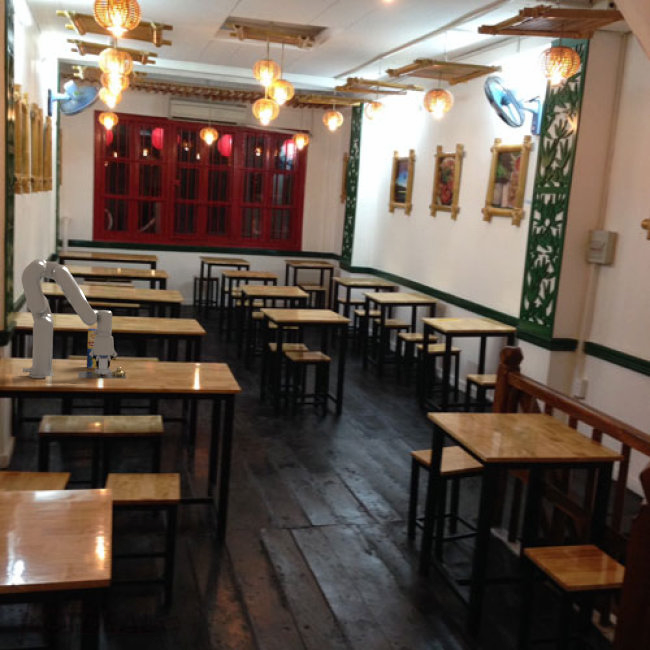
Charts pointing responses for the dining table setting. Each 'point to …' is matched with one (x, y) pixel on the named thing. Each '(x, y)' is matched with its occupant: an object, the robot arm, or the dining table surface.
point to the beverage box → (90, 360)
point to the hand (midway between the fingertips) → (102, 367)
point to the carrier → (113, 374)
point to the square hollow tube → (103, 366)
